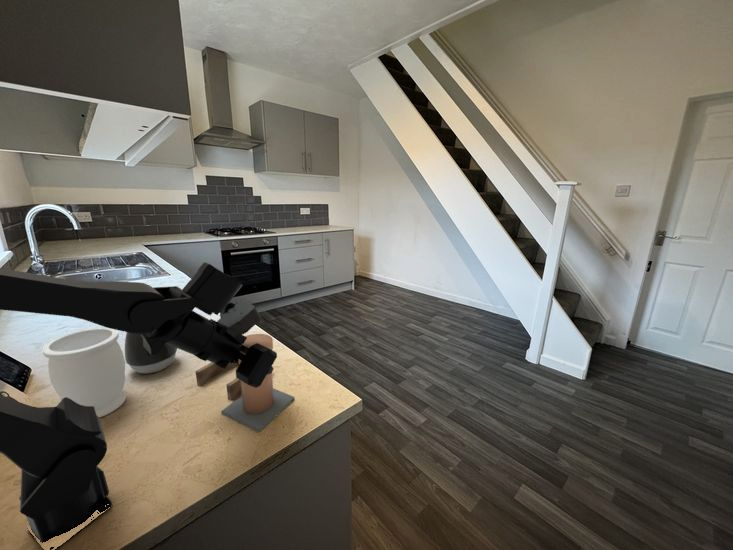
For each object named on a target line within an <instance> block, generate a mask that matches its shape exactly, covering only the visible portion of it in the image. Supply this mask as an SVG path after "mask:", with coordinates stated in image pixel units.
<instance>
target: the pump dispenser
mask: <svg viewBox="0 0 733 550" xmlns="http://www.w3.org/2000/svg"><path fill="white" fill-rule="evenodd" d="M177 351H178V348H176V347H173V346H171V345H168V344H165V345H164V346H163V347H162V349H161V350H160V351H159V352H158V353H157V354H156V355H155V356H152V355H151V354H150V353H149V352H148V351H147V350H146V348H145V347H144V346H143V337H142V336H141V334H133V333H128V332H125V339H124V360H125V364H126V365H127V364H128V365H129V367H130V368H131V369H132V370H133V371H135V372H137V373H140V374H152V373H157V372H160V371H162V370H164V369H166V368H167V367H169V366H170V365H172V363H173V362H174V359H175V357H176V355H177Z"/></svg>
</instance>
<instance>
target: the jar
mask: <svg viewBox="0 0 733 550" xmlns="http://www.w3.org/2000/svg"><path fill="white" fill-rule="evenodd" d="M118 340H119V330H115V329H111V328H107V327H96V328H89V329H84V330H78V331H74V332H71V333H67V334H65V335H62V336H59V337H57V338H55V339H53V340H51V341H50V342H47V343H46V344H45V345H43V347H42V350H41V351H42V354H43V356H44V357H45V358H47V359H48V361H47V363H48V364H47V368H48V369H47V370H48V374H49V376H48V377H49V379H50V383H51V385H52V386H53V389H54V391H56V393H57V395H58V397H59V398H60V401H61V400H62V399H63V398H65V397H67V398H69V399H71V400H73V401H74V402H76V403H78V404H80V405H83V406H94V408H95V412H96V415H97V416H98V417H99V419H100V418H102V417H105V416H106V415H109V414H110V413H113V412H115V410H117V409H118V408H120V407H121V406H122V405H123V404H124V403H125V401H126V399H127V395H126V393H125V392H124V391H123V390H124V387H125V383H126V373H125V372H126V360H125V355H124V353H123V350H122V348H121V345H120V344H119V343H118Z"/></svg>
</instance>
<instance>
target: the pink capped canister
mask: <svg viewBox="0 0 733 550" xmlns="http://www.w3.org/2000/svg"><path fill="white" fill-rule="evenodd" d="M244 336H245V337H247V339H246V340H245V342H244V343H243V344H242V345H244V346H246V347H248V348H249V347H251V346H252V345H254V344H256V343H258V344H261V345H263V346H265V347H267V348H269V349H271V350H273V349H274V342H273V337H272V336H271V335H268V334H266V333H265V334H264V333H252V334H247V335H244ZM240 352H241V353H243V354H244V355H246V353H244V352H242V351H240ZM238 360H239V364H240V363H241V360H240V359H238ZM273 378H274V377H273V372H272V373H271V374H268V375H266V377H265V379H264V380H263V382H262V384H261V385H260V386H259V387H257V388H255V387H252V386H250V385H248V384H246V383H244V382H243V381H241V380H240V383H241V394H240V395H241V396H242V406H243V410H244V411H245V412H246V413H249V414H259V413H262V412H265V411H267V410H268V409H269V408H270V407H271V406H272V405H273V403H274V397H273V388H274V380H273Z"/></svg>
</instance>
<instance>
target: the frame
mask: <svg viewBox="0 0 733 550" xmlns="http://www.w3.org/2000/svg"><path fill="white" fill-rule="evenodd" d="M238 364H239V363H234V364H231V363H229V364H228V365H227V367H226V368H225V369H224V368H221V367H219V366H218V365H216V364H215V363H213V362H210V363H208V364H206V365H204V366H202V367H200V368H198V369H197V370H195V371H194V372H195V378H196V385H197V386H200V387H201V386H203V385H204V384H206V383H207V382H210V381H211V380H213V379H214V378H216V377H217V376H219V375H221V374H223V373H225V372H226V371H228V370H230V369H232V368H233V367H235V366H236V365H238ZM234 365H235V366H234ZM226 392H227V393H226V395H227V400H229V401H232V400H234V399H235V398H236V397H238V396H240V395H241V383H240V379H238V378H236V377H235V378H234V379H233V380H231V381H230V382H228V383H226Z"/></svg>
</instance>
